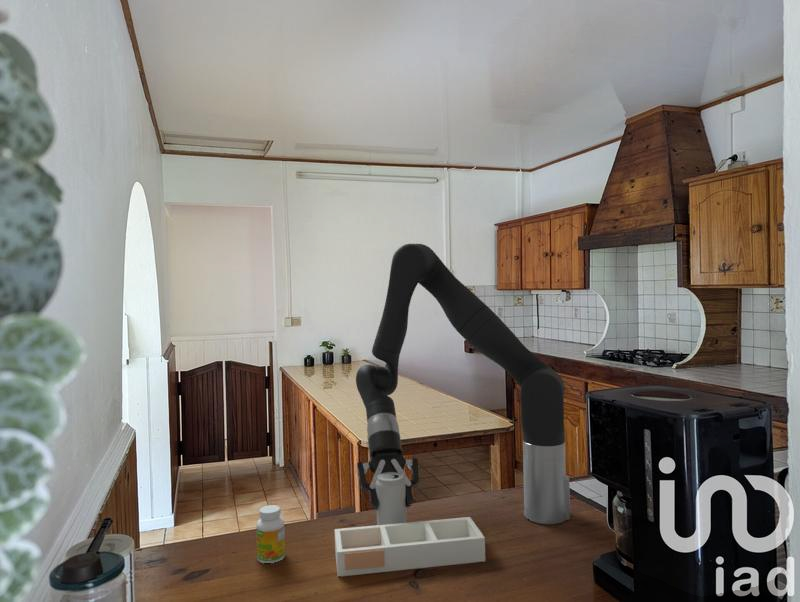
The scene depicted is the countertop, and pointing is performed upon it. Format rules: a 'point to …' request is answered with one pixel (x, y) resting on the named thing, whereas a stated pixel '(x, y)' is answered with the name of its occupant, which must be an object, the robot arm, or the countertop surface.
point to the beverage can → (391, 498)
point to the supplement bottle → (270, 535)
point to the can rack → (408, 546)
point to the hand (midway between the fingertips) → (392, 506)
